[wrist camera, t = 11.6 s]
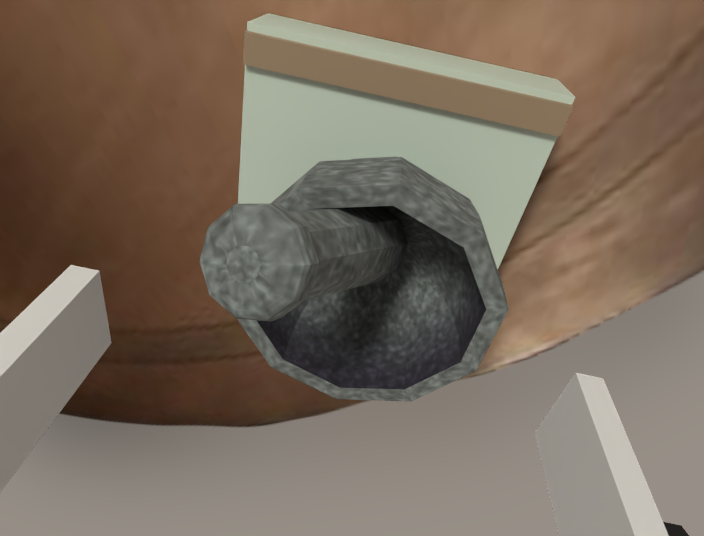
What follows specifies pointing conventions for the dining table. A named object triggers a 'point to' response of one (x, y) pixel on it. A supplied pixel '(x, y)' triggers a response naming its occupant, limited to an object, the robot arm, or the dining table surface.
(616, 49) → the dining table surface
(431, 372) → the mortar and pestle
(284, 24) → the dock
